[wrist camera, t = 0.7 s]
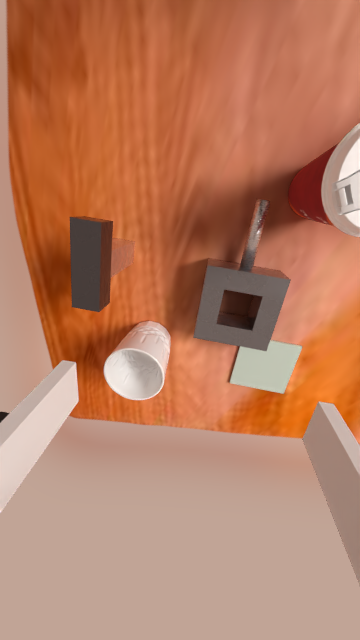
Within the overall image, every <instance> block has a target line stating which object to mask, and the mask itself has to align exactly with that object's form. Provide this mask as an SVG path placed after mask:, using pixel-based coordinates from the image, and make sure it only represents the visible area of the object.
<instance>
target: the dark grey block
mask: <svg viewBox="0 0 360 640" xmlns="http://www.w3.org/2000/svg"><path fill="white" fill-rule="evenodd" d="M112 231H113V221H109V220H103V219H97V218H91V217H85V216H82V217H70V245H71V286H72V307H75V308H80V309H86V310H91V311H96V312H100V311H101V310H102V309H103V308H104V307H105V306H107V305H108V304H109V303H110V280H111V277H113V276H114V275H116V274H117V273H119V272H120V271H122V270H123V269H125V268H126V267H128V266H129V265H131V264H132V263H133V259H134V246H135V242H134V241H128V240H123V239H117V238H112Z"/></svg>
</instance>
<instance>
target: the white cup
mask: <svg viewBox="0 0 360 640" xmlns="http://www.w3.org/2000/svg"><path fill="white" fill-rule="evenodd" d="M170 346H171V337H170V335H169V333H168V331H167V329H166V328H165V327H163V326H162V325H161V324H159V323H157V322H153V321H145V322H140V323H139V324H137V325H136V326H135V327H134V328H133V329H132V330H131V331H130V332H129V333H128V334H127V335H126V336H125V338H124V339H123V340H122V341H121V342H120V343H119V345H118V346H117V347H116V348H115V350H114V351H113V352H112V353H111V355H110V356H109V357H108V358H107V360H106V362H105V365H104V376H105V379H106V381H107V383H108V385H109V386H110V387H111V388H112V389H113V390H114V391H115V392H116V393H117V394H119V395H121V396H123V397H125V398H128V399H132V400H145V399H149V398H151V397H153V396H155V395H156V394H157V393H158V392H159V391H160V390H161V389H162V387H163V384H164V379H165V375H166V370H167V365H168V360H169V354H170Z"/></svg>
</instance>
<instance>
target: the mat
mask: <svg viewBox="0 0 360 640" xmlns="http://www.w3.org/2000/svg"><path fill="white" fill-rule="evenodd" d="M301 349H302V346H300V345H295V344H290V343H284V342H279V341H274V340H270V342H269V345H268V348H267V351H262V350H256V349H251V348H246V347H241V346H240V347H239V350H238V354H237V357H236V361H235V364H234V368H233V371H232V375H231V378H230V383H232V384H237V385H242V386H247V387H252V388H257V389H262V390H268V391H273V392H278V393H283V394H284V391H285V389H286V386H287V384H288V381H289V379H290V376H291V374H292V371H293V369H294V366H295V364H296V362H297V359H298V357H299V354H300V352H301Z"/></svg>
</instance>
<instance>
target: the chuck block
mask: <svg viewBox="0 0 360 640" xmlns="http://www.w3.org/2000/svg"><path fill="white" fill-rule="evenodd" d="M269 205H270V201H267V200H260V199H257V200H256V204H255V208H254V212H253V216H252V220H251V224H250V228H249V232H248V236H247V240H246V244H245V248H244V252H243V256H242V260H241V264H238V263H233V262H227V261H221V260H216V259H210V258H208V262H207V267H206V272H205V277H204V283H203V288H202V293H201V298H200V303H199V308H198V313H197V318H196V324H195V331H194V338H198V339H204V340H209V341H214V342H219V343H225V344H230V345H235V346H241V347H246V348H251V349H256V350H262V351H267V348H268V345H269V342H270V339H271V336H272V334H273V331H274V328H275V325H276V322H277V319H278V316H279V313H280V310H281V307H282V304H283V301H284V298H285V295H286V292H287V289H288V286H289V283H290V279H289V278H288V277H287V276H286V275H285V274H283V273H282V272H281V271H278V270H273V269H267V268H261V267H256V266H253V264H254V261H255V257H256V253H257V249H258V246H259V242H260V238H261V235H262V231H263V227H264V224H265V220H266V216H267V212H268V209H269ZM224 290H230V291H235V292H241V293H246V294H252V295H253V299H252V302H251V306H250V309H249V313H248V316H243V315H237V314H232V313H226V312H221V311H219V310H220V306H221V302H222V297H223V293H224Z"/></svg>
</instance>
